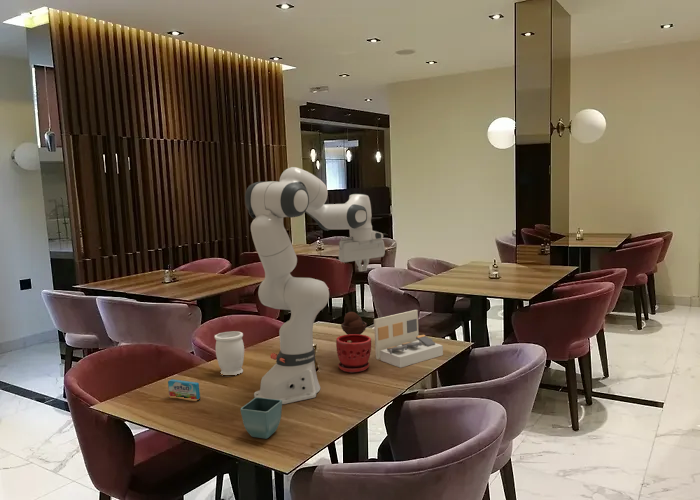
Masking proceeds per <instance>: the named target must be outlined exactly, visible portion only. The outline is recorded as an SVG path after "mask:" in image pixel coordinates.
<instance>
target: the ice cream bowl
mask: <svg viewBox="0 0 700 500" xmlns="http://www.w3.org/2000/svg"><path fill="white" fill-rule="evenodd" d="M343 320H344V321H343V323H341V324H340V326H341V327H340V328H341V329H342V331H343V332H344V333H345V335H349V334H360V335H363V333H364V332H365V331H366V329H367V324H368V323H367V322H365V321H363V319H362V317H361V316H360V315H358V314H357V312H354V311H349V312H346V314H345V315H344V318H343ZM350 343H352V341H350ZM355 343H357V342H355Z"/></svg>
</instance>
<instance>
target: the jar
mask: <svg viewBox="0 0 700 500" xmlns="http://www.w3.org/2000/svg"><path fill="white" fill-rule="evenodd" d="M243 337H244V333H243V332H241V331H236V330H235V331H234V330H233V331H224V332H219V333H217V334H214V339H215V340H216V342H215V357H216V359H217V364H218V367H219V368H220V370H221V371H220V373H221V374H223V375H235V376H238V375H237V374H239V375H241V374H242V373H243V372H244V369H243V368H242V367H243V364H244V356H245V346H244V345H245V343H244V341H243ZM240 373H241V374H240ZM221 374H220V375H221ZM223 375H222V376H223Z"/></svg>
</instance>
